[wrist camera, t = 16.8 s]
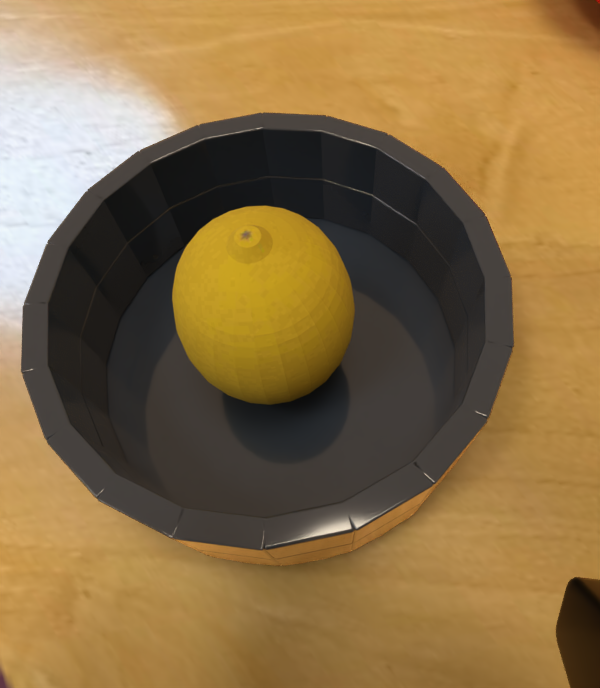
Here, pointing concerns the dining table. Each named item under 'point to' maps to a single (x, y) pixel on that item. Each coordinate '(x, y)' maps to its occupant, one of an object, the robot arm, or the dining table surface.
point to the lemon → (263, 304)
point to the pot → (284, 418)
